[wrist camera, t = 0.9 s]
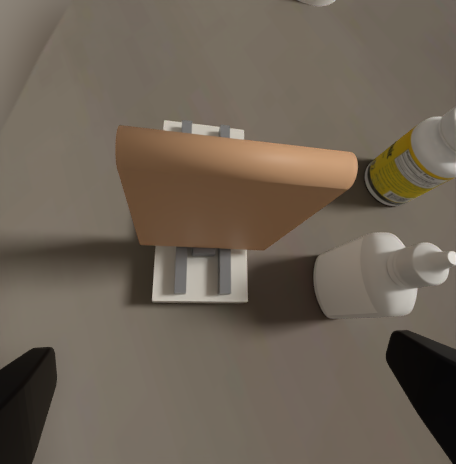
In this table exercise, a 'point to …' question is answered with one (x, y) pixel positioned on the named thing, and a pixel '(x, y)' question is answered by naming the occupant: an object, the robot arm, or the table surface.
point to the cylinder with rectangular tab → (317, 2)
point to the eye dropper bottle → (377, 276)
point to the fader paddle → (223, 188)
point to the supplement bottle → (415, 162)
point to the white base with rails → (200, 267)
